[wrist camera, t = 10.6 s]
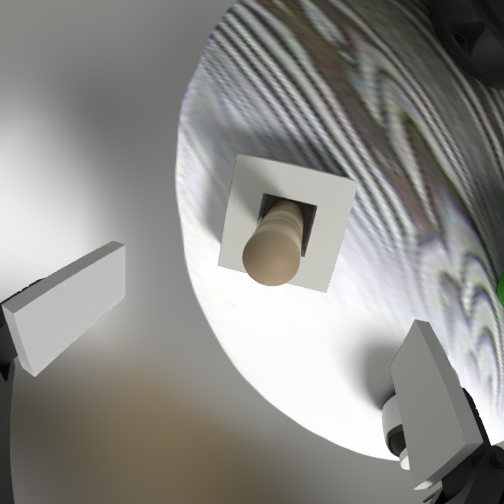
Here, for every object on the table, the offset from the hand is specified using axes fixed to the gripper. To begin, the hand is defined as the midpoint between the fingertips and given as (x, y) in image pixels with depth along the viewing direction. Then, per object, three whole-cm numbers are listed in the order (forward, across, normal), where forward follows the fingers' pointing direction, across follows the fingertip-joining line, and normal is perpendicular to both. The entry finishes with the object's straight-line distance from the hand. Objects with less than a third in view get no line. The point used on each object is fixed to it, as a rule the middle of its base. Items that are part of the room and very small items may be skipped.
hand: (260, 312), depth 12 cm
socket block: (+20, 0, 0) cm, 20 cm away
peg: (+20, -1, 0) cm, 20 cm away
